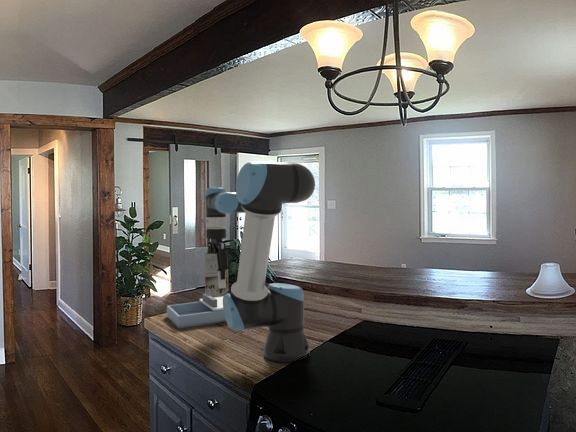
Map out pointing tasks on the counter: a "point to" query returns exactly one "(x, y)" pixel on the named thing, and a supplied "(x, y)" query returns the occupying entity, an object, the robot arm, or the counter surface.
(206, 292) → the coffee box
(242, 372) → the counter surface
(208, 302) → the lid
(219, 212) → the robot arm
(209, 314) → the blue tray
